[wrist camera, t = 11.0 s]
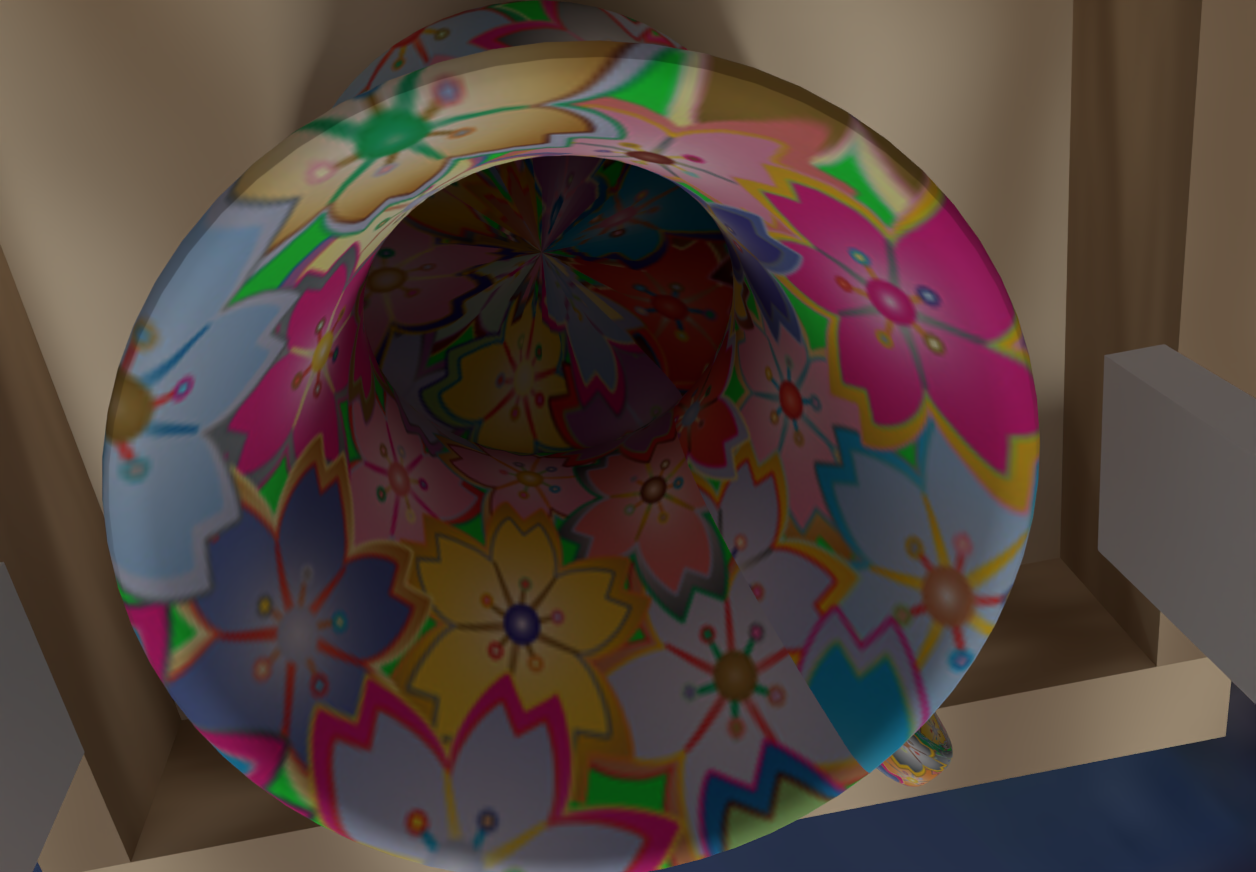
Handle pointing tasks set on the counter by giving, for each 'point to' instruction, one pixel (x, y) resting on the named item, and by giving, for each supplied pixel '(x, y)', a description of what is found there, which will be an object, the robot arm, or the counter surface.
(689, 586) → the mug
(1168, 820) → the counter surface
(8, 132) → the wooden tray
